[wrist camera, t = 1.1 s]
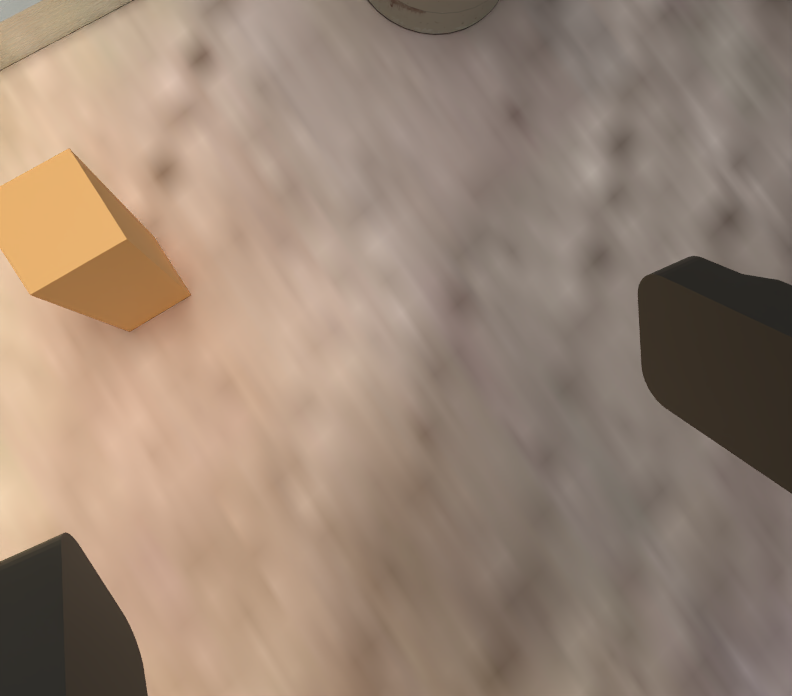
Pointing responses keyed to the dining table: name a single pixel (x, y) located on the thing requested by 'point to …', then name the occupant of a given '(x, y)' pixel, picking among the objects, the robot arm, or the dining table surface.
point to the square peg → (84, 246)
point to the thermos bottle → (434, 13)
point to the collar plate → (44, 23)
